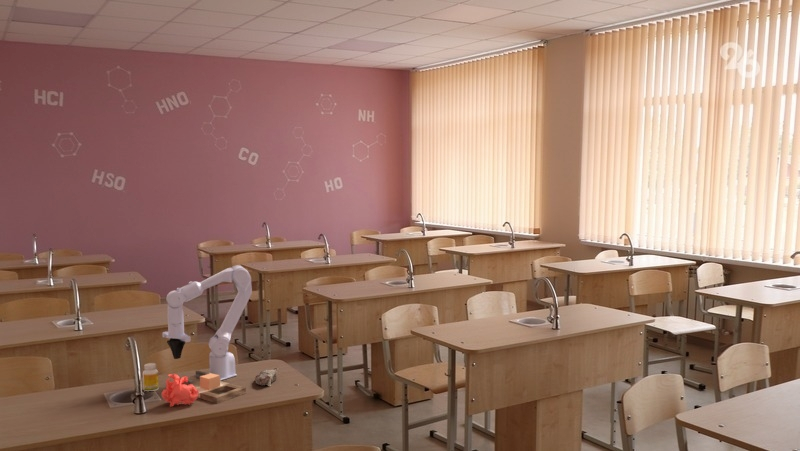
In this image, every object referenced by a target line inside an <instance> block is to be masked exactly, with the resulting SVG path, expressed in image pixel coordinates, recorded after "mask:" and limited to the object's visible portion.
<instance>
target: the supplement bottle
mask: <svg viewBox="0 0 800 451" xmlns="http://www.w3.org/2000/svg"><path fill="white" fill-rule="evenodd" d="M143 367H144V370H143V371H142V390H145V391H154V392H156V391H158V390H159V386H160V385H159V383H160V382H159V370H158V369H157V363H155V362H149V363H145V364H144V365H143ZM145 391H144V392H145Z"/></svg>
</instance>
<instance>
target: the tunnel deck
mask: <svg viewBox="0 0 800 451" xmlns="http://www.w3.org/2000/svg"><path fill="white" fill-rule="evenodd" d="M207 374H210V372H205V371H201V370H195V375H194V374H193V375H190V376H187V377H188V378H187V379H188V382H184V383H181V385H183V384H185V385H187V386H188V385H189V384H193V386H194V387H196V389H197V390H198V391H199V392H198V396H197V399H201V400H204V401H207V402H211V403H214V404H220V403H222V402H225V401H228V400H230V399H233V398H236V397H239V396H242V395H244V394H247V388H246V387H244V386H241V385H237V384H233V383H229V382H226V381H223V380H221V381H220V387H217V388H213V389H210V390H208V389H204V388H200V376H203V375H207ZM179 377H180V376H179ZM181 378H182V377H180V378H179V379H181ZM171 386H172V385H171ZM190 392H191V390H190Z"/></svg>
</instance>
